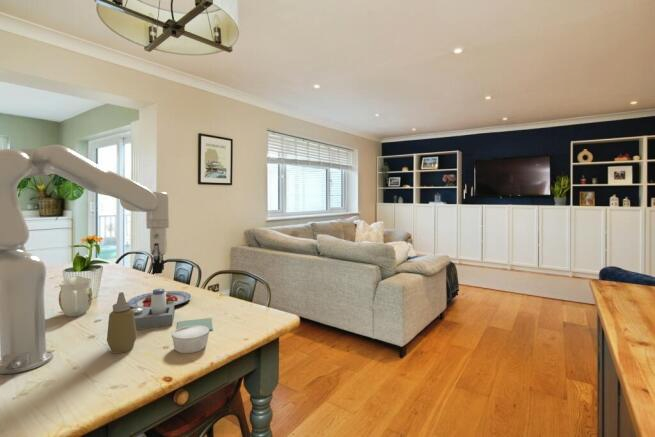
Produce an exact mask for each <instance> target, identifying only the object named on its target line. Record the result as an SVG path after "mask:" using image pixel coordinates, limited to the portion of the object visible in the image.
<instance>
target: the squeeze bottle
mask: <svg viewBox="0 0 655 437" xmlns="http://www.w3.org/2000/svg"><path fill="white" fill-rule="evenodd" d="M132 309H133V308H131V306H130V303H128V301H127V300H126V298H125V294H124V292H118V296H117V300H116V303H114V304H113V305H112V311H111V312H109V314H108V321H107V322H108V323H107V333H106V334H107V336H106V342H107V345H108V347H109V349H110V351H111V353H114V354H120V353H121V354H122V353H126V352H128V351H130V350H133V348H134V346H135V342H136V340H137V337H138V336H137V335H138V333H137V329H136V325H135V317H134V311H133V310H132Z"/></svg>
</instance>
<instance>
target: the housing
mask: <svg viewBox="0 0 655 437" xmlns="http://www.w3.org/2000/svg"><path fill="white" fill-rule="evenodd" d="M134 317H135V325H136V330H141V329H149V328H157V327H158V328H160V327H169V326H173V323H174V319H175V305H170V306H166V313H163V314H153V315H152V307H148V308H143V312H141V313H140V314H135V315H134Z"/></svg>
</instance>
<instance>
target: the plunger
mask: <svg viewBox="0 0 655 437" xmlns="http://www.w3.org/2000/svg"><path fill="white" fill-rule="evenodd" d="M131 309H132V310H133V311H134V315H135V314H140V313H141V312H143V308H134V307H133V308H131Z"/></svg>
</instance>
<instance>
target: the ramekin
mask: <svg viewBox="0 0 655 437" xmlns="http://www.w3.org/2000/svg"><path fill="white" fill-rule="evenodd" d="M209 335H210V331H209V328H208V327H206V326H201V325H193V326H186V327H182V328H179V329H177V328H176V329H175V330H173V331H172V333H171V338H172V344H173V348H174V350H175V351H176V352H177V353H180V354H193V353H197V352H200V351H202V350H203V349H204V348H206V346H207V344H208V340H209Z"/></svg>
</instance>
